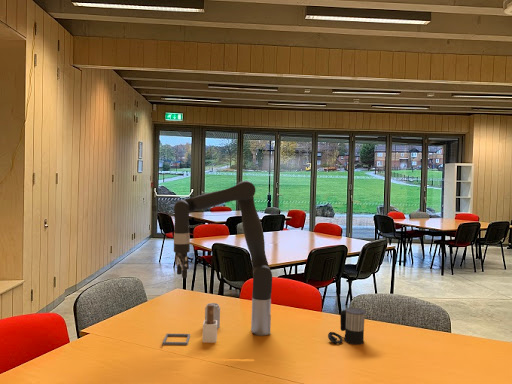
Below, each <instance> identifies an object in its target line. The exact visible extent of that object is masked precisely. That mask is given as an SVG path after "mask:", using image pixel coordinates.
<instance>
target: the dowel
mask: <svg viewBox="0 0 512 384" xmlns="http://www.w3.org/2000/svg"><path fill="white" fill-rule="evenodd" d="M206 306H207V324H214V305H207V304H206Z"/></svg>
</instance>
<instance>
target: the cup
mask: <svg viewBox="0 0 512 384" xmlns="http://www.w3.org/2000/svg"><path fill="white" fill-rule="evenodd" d="M217 340H218V328H217V320H214V324H207V320H205V319H203V323H202V341H201V342H202V343H209V344H211V343H216V344H217Z"/></svg>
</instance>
